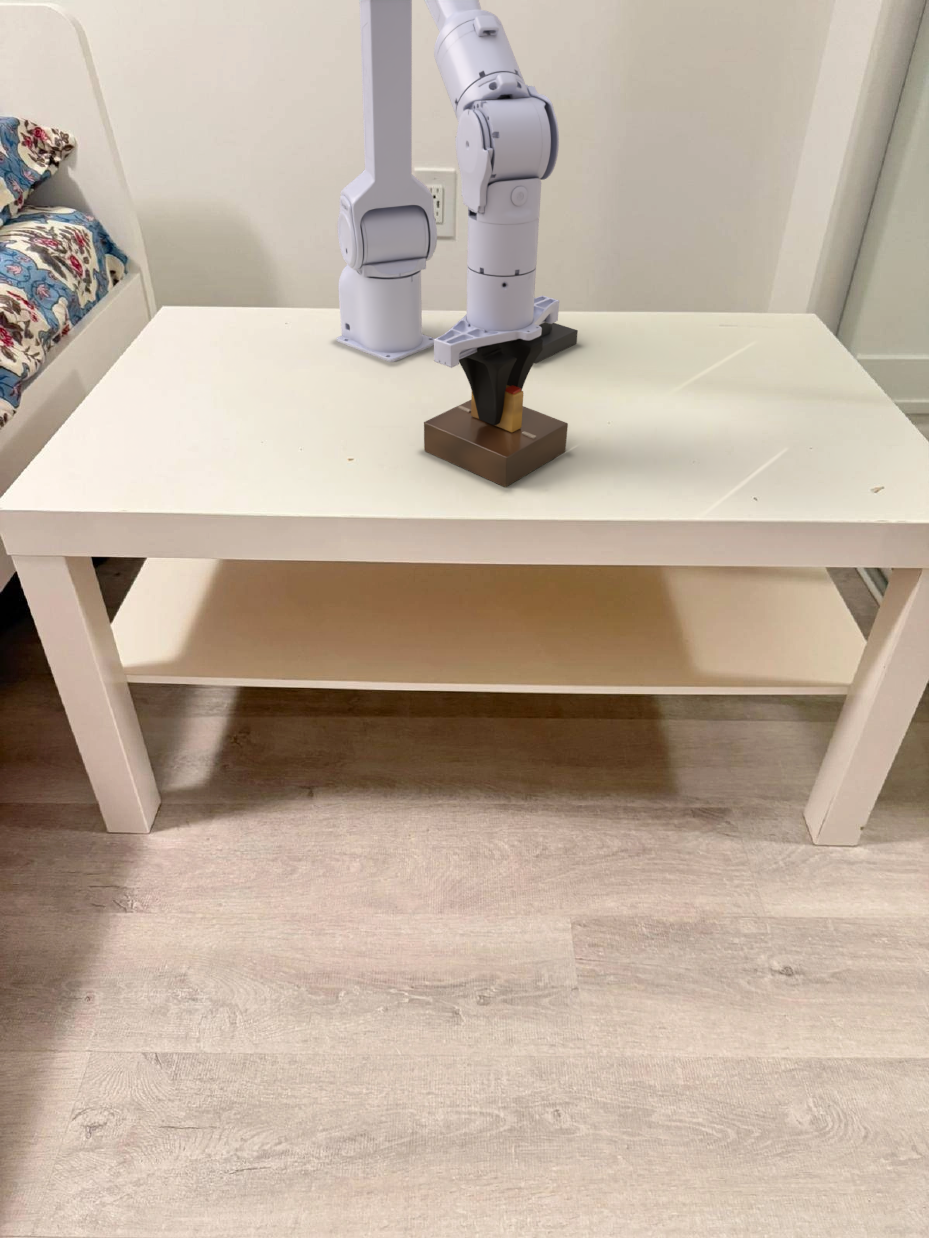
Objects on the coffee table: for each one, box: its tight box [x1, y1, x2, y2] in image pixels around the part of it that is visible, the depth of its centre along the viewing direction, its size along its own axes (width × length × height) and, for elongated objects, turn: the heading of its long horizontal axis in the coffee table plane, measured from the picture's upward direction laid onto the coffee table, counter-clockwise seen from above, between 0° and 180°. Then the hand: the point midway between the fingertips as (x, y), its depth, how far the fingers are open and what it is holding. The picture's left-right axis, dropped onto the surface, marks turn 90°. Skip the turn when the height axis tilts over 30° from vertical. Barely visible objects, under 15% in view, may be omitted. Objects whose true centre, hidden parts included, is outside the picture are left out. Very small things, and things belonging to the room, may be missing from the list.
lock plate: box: [423, 399, 569, 488], centre depth 82 cm, size 10×9×3 cm
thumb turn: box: [470, 385, 524, 432], centre depth 80 cm, size 5×1×4 cm, turn 48°
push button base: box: [534, 322, 579, 364], centre depth 103 cm, size 10×8×4 cm
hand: (496, 417), depth 81 cm, fingers closed on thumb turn
